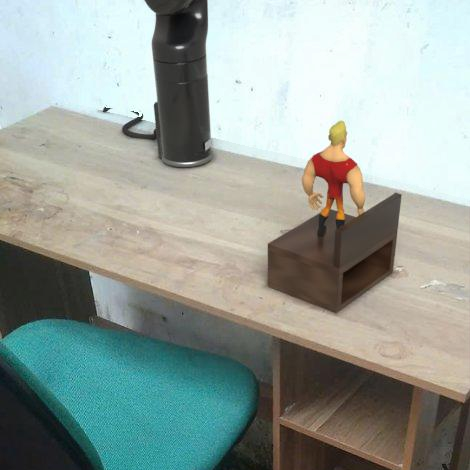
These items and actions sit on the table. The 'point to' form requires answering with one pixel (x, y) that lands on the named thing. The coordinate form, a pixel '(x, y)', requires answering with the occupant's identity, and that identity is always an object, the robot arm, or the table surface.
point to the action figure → (334, 177)
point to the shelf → (336, 256)
